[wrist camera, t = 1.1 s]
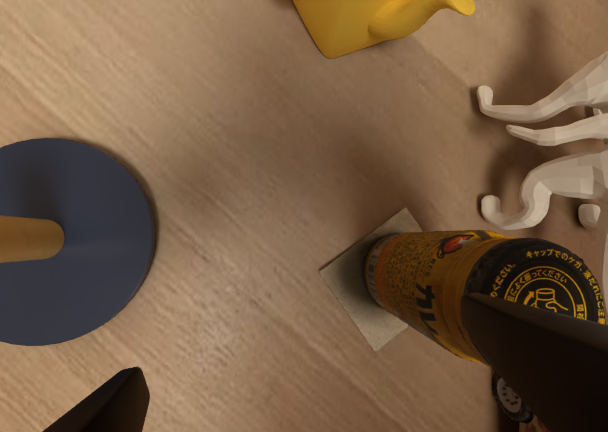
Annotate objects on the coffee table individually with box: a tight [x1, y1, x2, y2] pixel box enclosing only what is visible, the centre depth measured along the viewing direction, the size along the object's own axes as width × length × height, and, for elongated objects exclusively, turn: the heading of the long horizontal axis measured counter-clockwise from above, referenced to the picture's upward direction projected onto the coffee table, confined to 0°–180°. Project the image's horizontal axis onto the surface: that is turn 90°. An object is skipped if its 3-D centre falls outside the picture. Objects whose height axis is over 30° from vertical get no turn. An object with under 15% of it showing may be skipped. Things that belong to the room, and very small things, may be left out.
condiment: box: [319, 207, 606, 368], centre depth 16 cm, size 7×8×12 cm
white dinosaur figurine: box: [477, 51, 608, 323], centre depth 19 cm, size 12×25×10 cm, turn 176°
